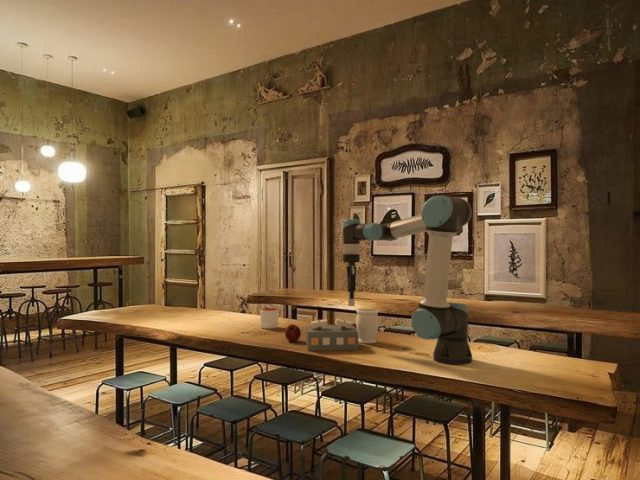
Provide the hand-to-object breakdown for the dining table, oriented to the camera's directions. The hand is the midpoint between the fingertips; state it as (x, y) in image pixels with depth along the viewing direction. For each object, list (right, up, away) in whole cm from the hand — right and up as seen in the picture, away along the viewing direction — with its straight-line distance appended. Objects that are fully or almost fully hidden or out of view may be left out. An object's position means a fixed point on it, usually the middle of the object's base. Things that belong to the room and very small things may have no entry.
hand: (351, 305), depth 213 cm
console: (-9, -18, -1) cm, 20 cm away
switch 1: (-14, -9, -1) cm, 17 cm away
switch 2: (-3, -8, 0) cm, 9 cm away
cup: (-42, -19, +46) cm, 65 cm away
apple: (-27, -19, +11) cm, 35 cm away
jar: (+8, -19, +10) cm, 23 cm away
